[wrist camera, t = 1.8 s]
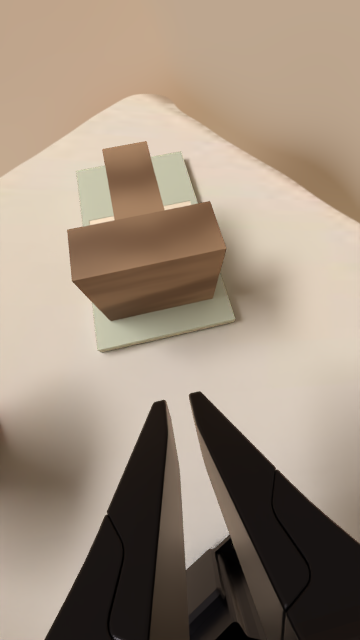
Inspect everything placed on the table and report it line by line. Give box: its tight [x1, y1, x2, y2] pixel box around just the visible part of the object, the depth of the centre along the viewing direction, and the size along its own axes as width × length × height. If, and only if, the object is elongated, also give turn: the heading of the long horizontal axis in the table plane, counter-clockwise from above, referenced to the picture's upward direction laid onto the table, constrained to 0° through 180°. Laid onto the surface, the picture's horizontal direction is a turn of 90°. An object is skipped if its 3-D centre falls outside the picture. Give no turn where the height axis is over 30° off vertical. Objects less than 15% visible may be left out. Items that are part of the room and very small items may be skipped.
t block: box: [67, 141, 226, 321], centre depth 21 cm, size 11×10×8 cm
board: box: [76, 151, 235, 352], centre depth 26 cm, size 22×13×1 cm, turn 13°
